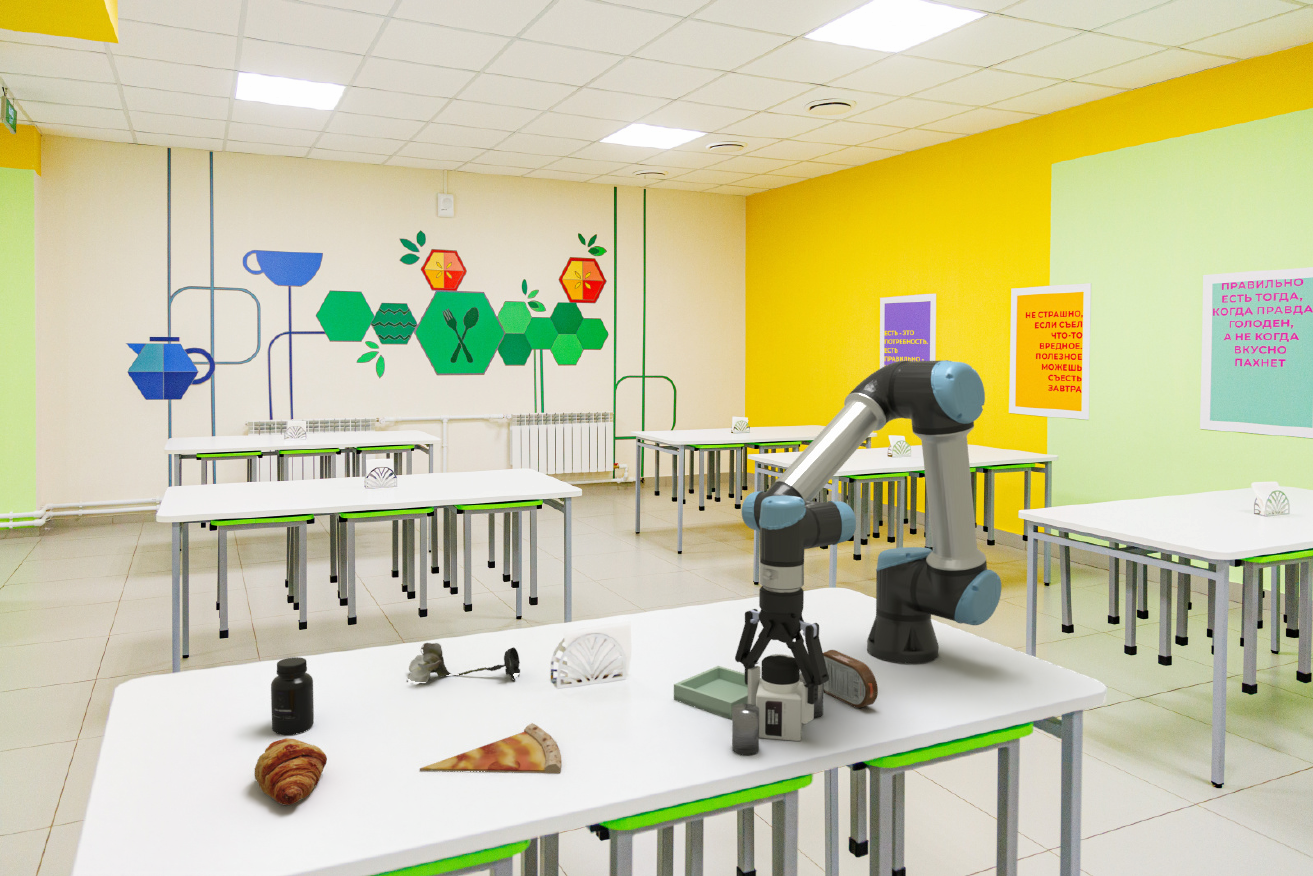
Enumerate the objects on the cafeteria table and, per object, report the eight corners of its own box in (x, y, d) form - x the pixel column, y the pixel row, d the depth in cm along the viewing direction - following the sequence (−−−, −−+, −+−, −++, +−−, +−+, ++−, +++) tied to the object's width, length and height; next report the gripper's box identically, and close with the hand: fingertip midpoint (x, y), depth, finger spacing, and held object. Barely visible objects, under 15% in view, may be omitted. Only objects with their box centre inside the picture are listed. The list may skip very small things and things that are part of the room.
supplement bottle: (273, 739, 150) (270, 670, 149) (270, 724, 156) (268, 658, 155) (316, 731, 153) (314, 664, 152) (312, 717, 159) (309, 652, 158)
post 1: (742, 741, 149) (743, 701, 148) (764, 749, 146) (764, 708, 145) (726, 750, 146) (727, 709, 145) (748, 758, 143) (748, 716, 142)
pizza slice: (446, 731, 154) (446, 720, 154) (573, 733, 153) (573, 722, 153) (419, 774, 138) (419, 761, 138) (560, 776, 138) (560, 763, 137)
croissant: (269, 778, 144) (242, 740, 142) (326, 739, 147) (300, 702, 145) (274, 839, 125) (243, 796, 122) (340, 793, 128) (310, 751, 126)
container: (801, 742, 149) (802, 667, 147) (755, 738, 150) (756, 664, 149) (803, 723, 156) (804, 652, 155) (759, 720, 158) (760, 649, 157)
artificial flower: (514, 694, 174) (504, 651, 170) (405, 702, 176) (393, 661, 173) (523, 667, 182) (514, 626, 179) (419, 675, 185) (408, 635, 181)
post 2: (807, 707, 164) (807, 670, 163) (827, 713, 161) (828, 676, 160) (793, 714, 160) (794, 676, 160) (814, 720, 157) (815, 682, 157)
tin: (878, 711, 162) (879, 667, 161) (865, 715, 160) (866, 670, 159) (823, 685, 175) (824, 644, 174) (811, 688, 173) (811, 646, 172)
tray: (718, 680, 177) (718, 665, 177) (774, 697, 168) (774, 682, 168) (673, 699, 167) (673, 684, 167) (731, 719, 158) (731, 703, 158)
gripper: (715, 579, 156) (714, 701, 158) (828, 603, 140) (826, 737, 142) (740, 572, 161) (739, 689, 163) (852, 594, 146) (849, 723, 148)
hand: (779, 712), depth 153 cm, fingers open, 10 cm apart
